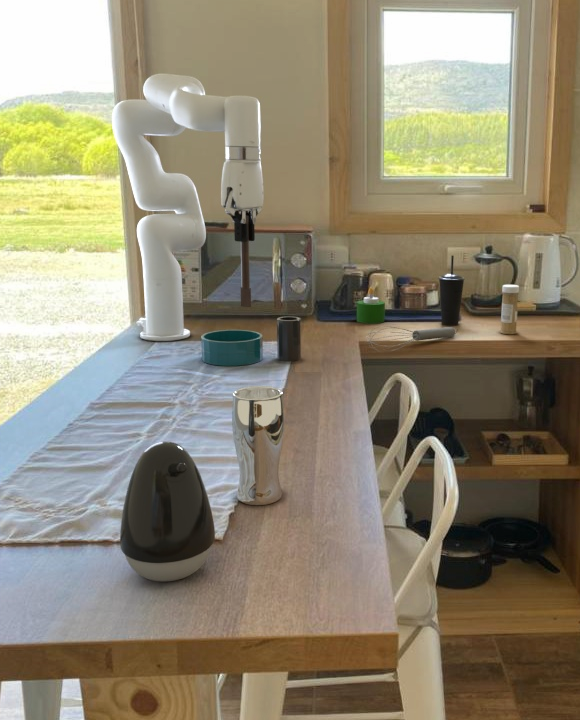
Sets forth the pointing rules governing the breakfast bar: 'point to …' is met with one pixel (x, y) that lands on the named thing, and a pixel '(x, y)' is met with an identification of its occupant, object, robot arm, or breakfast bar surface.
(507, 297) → the sprinkles bottle
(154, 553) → the black egg-shaped body
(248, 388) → the beer glass
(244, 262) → the wooden muddler
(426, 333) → the kitchen whisk
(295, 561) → the breakfast bar surface
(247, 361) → the bowl
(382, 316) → the candle
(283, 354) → the crock
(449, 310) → the drinking cup
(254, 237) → the robot arm
